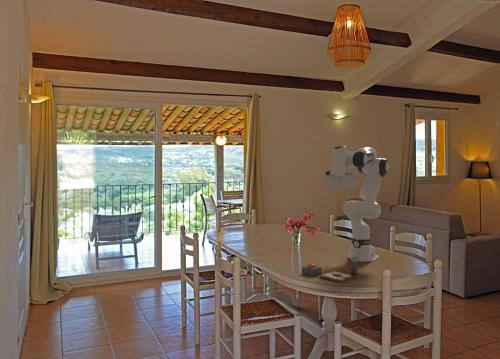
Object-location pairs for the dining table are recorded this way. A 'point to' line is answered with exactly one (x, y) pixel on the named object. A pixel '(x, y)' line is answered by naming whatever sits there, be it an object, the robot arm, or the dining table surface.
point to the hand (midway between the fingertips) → (338, 195)
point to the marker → (354, 266)
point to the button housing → (311, 270)
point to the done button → (311, 265)
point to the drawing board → (336, 276)
